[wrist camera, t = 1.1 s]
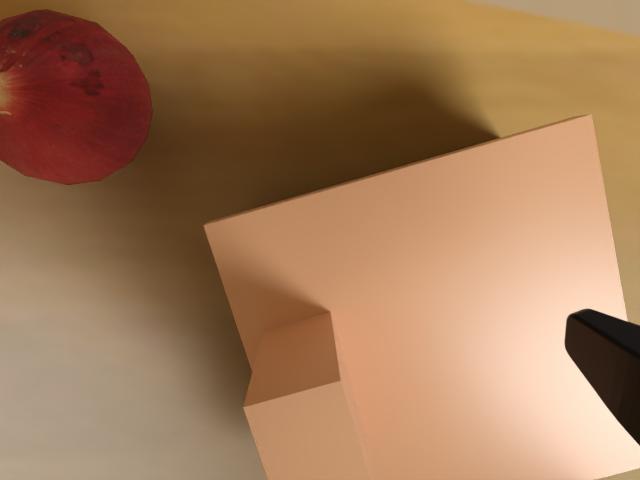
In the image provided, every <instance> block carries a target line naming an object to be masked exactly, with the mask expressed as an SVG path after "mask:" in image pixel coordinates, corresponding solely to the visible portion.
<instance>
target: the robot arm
mask: <svg viewBox="0 0 640 480" xmlns="http://www.w3.org/2000/svg"><path fill="white" fill-rule="evenodd" d="M564 344H565V349H566V351H567V353H568V355H569V356H570V358H571V359H572V360H573V362H574V363H575V364H576V366H577V367H578V369H579V370H580V371H581V373H582V374H583V375H584V377H585V378H586V379H587V381H588V382H589V384H590V385H591V386H592V388H593V389H594V390H595V392H596V393H597V394H598V396H599V397H600V398H601V400H602V401H603V403H604V404H605V405H606V407H607V408H608V409H609V411H610V412H611V413H612V414H613V416H614V417H615V418H616V420H617V421H618V422H619V423H620V424H621V425H622V427H623V428H624V429H625V430H626V431H627V432H628V433H629V435H630V436H631V437H632V438H633V439H634V440H635V441H636V442H637V444H638V445H639V446H640V326H639V325H636V324H634V323H631V322H628V321H625V320H622V319H619V318H616V317H613V316H610V315H607V314H604V313H602V312H599V311H596V310H593V309H582V310H579V311H577V312H574V313H571V314H570V315H569V316H568V317H567V320H566V330H565V341H564Z"/></svg>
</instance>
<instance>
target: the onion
mask: <svg viewBox="0 0 640 480" xmlns="http://www.w3.org/2000/svg"><path fill="white" fill-rule="evenodd" d="M152 113H153V110H152V104H151V97H150V91H149V84H148V82H147V80H146V78H145V76H144V74H143V73H142V71H141V69H140V67H139V65H138V64H137V62H136V60H135V58H134V56H133V55H132V54H131V53H130V51H129V50H128V49H127V48H126V47H125V46H124V45H123V44H121V43H120V42H119V41H118V40H117V39H115V38H114V37H113V36H112V35H111V34H109V33H108V32H107V31H106V30H104V29H103V28H102V27H101V26H100V25H98V24H97V23H94V22H91V21H87V20H84V19H80V18H76V17H73V16H69V15H65V14H62V13H58V12H54V11H51V10H47V9H46V10H37V11H32V12H28V13H25V14H21V15H18V16H14V17H10V18H7V19H3V20H2V21H1V22H0V160H1V161H3V162H4V163H6V164H7V165H9V166H11V167H12V168H14V169H15V170H17V171H19V172H20V173H22V174H23V175H25V176H29V177H33V178H38V179H42V180H47V181H52V182H56V183H61V184H65V185H71V184H79V183H86V182H93V181H100V180H102V179H103V178H105V177H107V176H109V175H110V174H112V173H114V172H115V171H117V170H119V169H121V168H122V167H124V166H126V165H127V164H129V163H130V162H131V161H132V160H133V158H134V157H135V155H136V154H137V152H138V151H139V150H140V148H141V147H142V145H143V144H144V142H145V141H146V139H147V137H148V132H149V127H150V122H151V117H152Z"/></svg>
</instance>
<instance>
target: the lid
mask: <svg viewBox="0 0 640 480" xmlns="http://www.w3.org/2000/svg"><path fill="white" fill-rule="evenodd" d="M203 226H204V229H205V232H206V235H207V238H208V241H209V244H210V247H211V250H212V253H213V256H214V259H215V262H216V265H217V268H218V271H219V274H220V277H221V280H222V283H223V286H224V289H225V292H226V295H227V298H228V301H229V304H230V307H231V310H232V313H233V316H234V319H235V322H236V325H237V328H238V331H239V334H240V337H241V340H242V343H243V346H244V349H245V352H246V355H247V358H248V361H249V364H250V367H251V370H252V375H251V379H250V383H249V387H248V390H247V394H246V398H245V402H244V406H243V409H244V412H245V415H246V418H247V420H248V423H249V426H250V429H251V432H252V435H253V438H254V441H255V444H256V447H257V450H258V453H259V456H260V459H261V461H262V464H263V467H264V470H265V473H266V476H267V479H268V480H596V479H600V478H604V477H607V476H611V475H615V474H619V473H622V472H626V471H630V470H634V469H637V468H640V446H639V445H638V444H637V442H636V441H635V440H634V439H633V438H632V437H631V436H630V435H629V433H628V432H627V431H626V430H625V429H624V428H623V427H622V425H621V424H620V423H619V422H618V421H617V420H616V418H615V417H614V416H613V414H612V413H611V412H610V411H609V409H608V408H607V407H606V405H605V404H604V403H603V401H602V400H601V398H600V397H599V396H598V394H597V393H596V392H595V390H594V389H593V388H592V386H591V385H590V384H589V382H588V381H587V379H586V378H585V377H584V375H583V374H582V373H581V371H580V370H579V369H578V367H577V366H576V364H575V363H574V362H573V360H572V359H571V358H570V356H569V355H568V353H567V351H566V349H565V344H564V341H565V330H566V320H567V317H568V316H569V315H570V314H571V313H574V312H577V311H579V310H582V309H593V310H596V311H599V312H602V313H604V314H607V315H610V316H613V317H616V318H619V319H622V320H625V321H627V316H626V310H625V304H624V299H623V293H622V287H621V281H620V275H619V270H618V264H617V258H616V252H615V247H614V241H613V235H612V229H611V223H610V218H609V212H608V206H607V200H606V195H605V189H604V183H603V177H602V171H601V166H600V160H599V154H598V148H597V143H596V137H595V131H594V125H593V120H592V114H590V115H583V116H576V117H572V118H568V119H565V120H561V121H558V122H554V123H551V124H547V125H544V126H540V127H537V128H533V129H530V130H526V131H523V132H519V133H516V134H512V135H509V136H505V137H502V138H498V139H495V140H491V141H488V142H484V143H481V144H477V145H474V146H470V147H467V148H464V149H460V150H457V151H453V152H450V153H446V154H443V155H439V156H436V157H432V158H429V159H425V160H422V161H418V162H415V163H411V164H408V165H404V166H401V167H397V168H394V169H390V170H387V171H383V172H380V173H376V174H373V175H369V176H366V177H362V178H359V179H355V180H352V181H348V182H345V183H341V184H338V185H334V186H331V187H327V188H324V189H320V190H317V191H314V192H310V193H307V194H303V195H300V196H296V197H293V198H289V199H286V200H282V201H279V202H275V203H272V204H268V205H265V206H261V207H258V208H254V209H251V210H247V211H244V212H240V213H237V214H233V215H230V216H226V217H223V218H219V219H216V220H212V221H209V222H208V223H206V224H205V225H203Z"/></svg>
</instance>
